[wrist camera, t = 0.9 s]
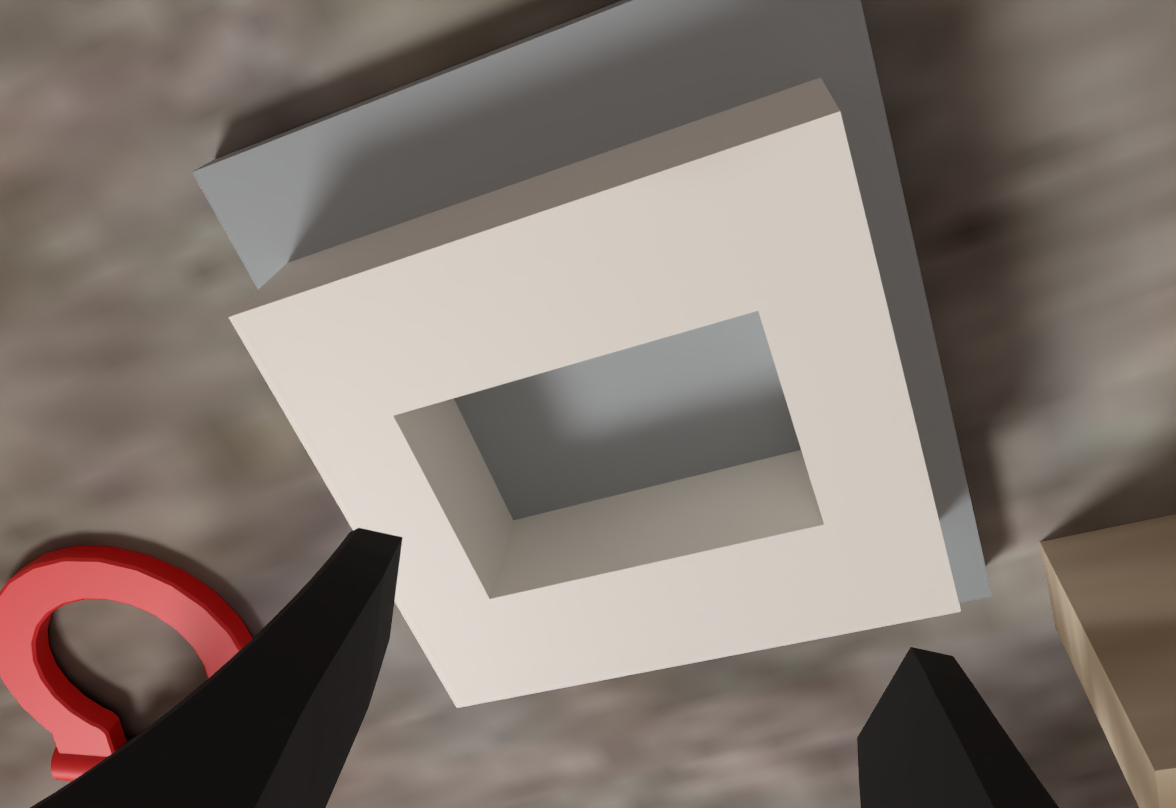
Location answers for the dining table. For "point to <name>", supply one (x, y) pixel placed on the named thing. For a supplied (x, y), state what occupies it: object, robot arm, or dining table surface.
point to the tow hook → (25, 604)
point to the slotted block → (616, 343)
